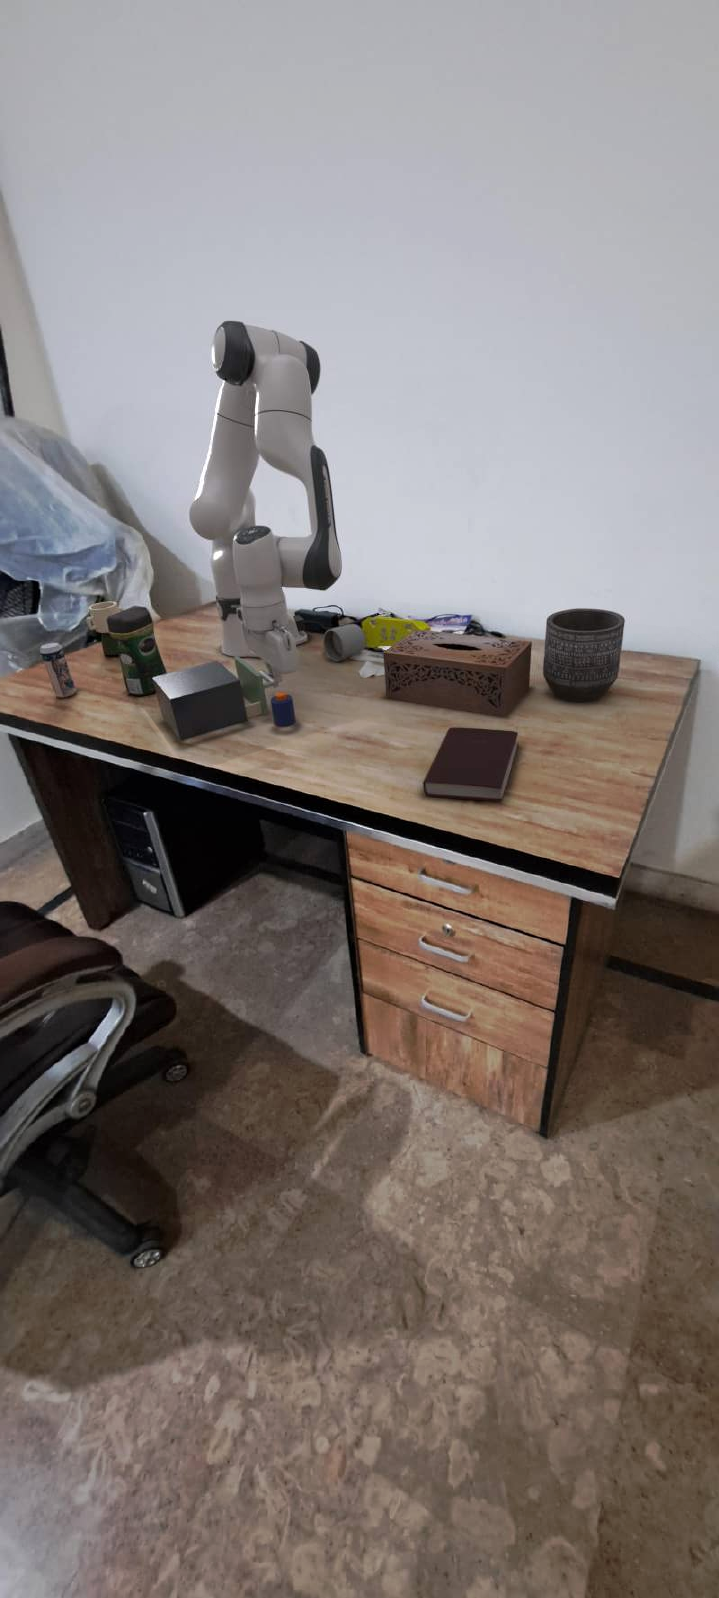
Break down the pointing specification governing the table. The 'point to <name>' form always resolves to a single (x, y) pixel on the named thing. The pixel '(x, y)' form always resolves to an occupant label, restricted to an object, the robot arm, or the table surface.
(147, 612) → the coffee jar
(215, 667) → the drawer unit
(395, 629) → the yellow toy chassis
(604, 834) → the table surface
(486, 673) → the tissue box cover
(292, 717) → the glue bottle
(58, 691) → the beer can
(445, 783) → the book
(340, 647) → the ceramic mug
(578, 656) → the planter
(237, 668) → the drawer
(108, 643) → the character mug
